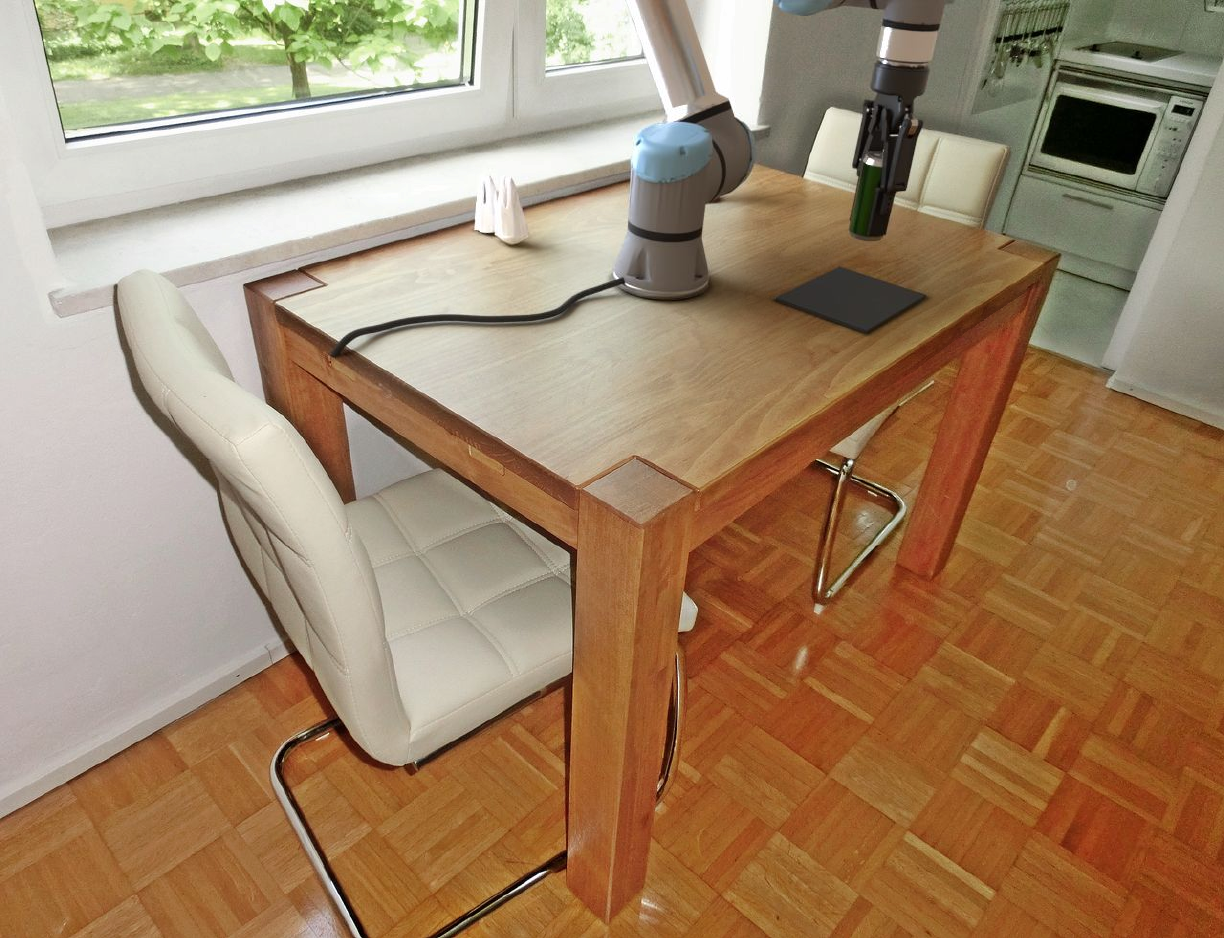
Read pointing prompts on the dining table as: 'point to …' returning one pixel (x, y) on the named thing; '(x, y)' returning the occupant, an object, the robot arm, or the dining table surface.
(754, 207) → the dining table surface
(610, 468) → the dining table surface
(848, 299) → the place mat
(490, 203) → the shaker set
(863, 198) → the beer can
